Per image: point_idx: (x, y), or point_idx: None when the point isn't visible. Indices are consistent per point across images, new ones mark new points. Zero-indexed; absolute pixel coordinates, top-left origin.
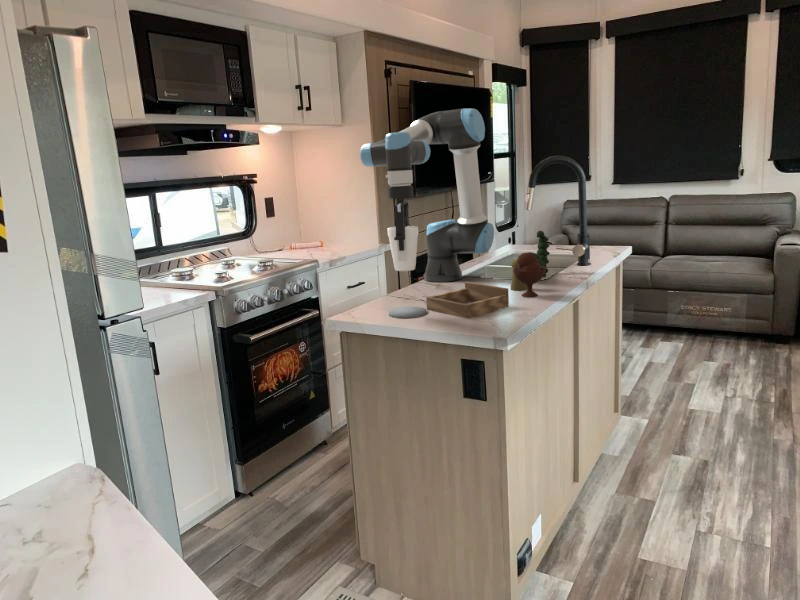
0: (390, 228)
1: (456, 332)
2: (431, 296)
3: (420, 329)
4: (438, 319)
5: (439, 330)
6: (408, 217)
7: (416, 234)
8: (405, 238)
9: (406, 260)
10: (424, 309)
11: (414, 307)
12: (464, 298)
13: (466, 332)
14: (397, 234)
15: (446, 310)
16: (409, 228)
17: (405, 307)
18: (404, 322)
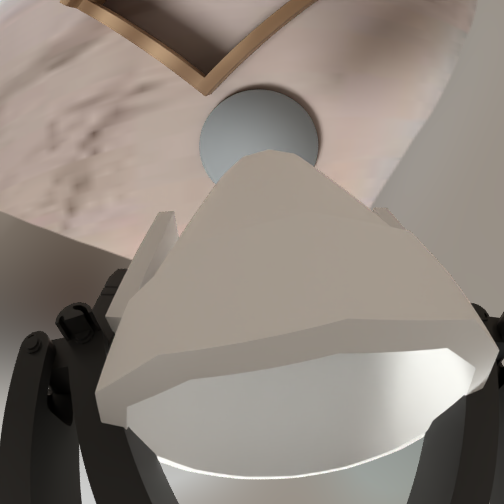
0: (267, 471)
1: (454, 40)
2: (192, 80)
3: (426, 110)
4: (342, 55)
5: (439, 70)
6: (4, 473)
7: (416, 239)
8: (475, 307)
9: (388, 212)
10: (244, 97)
11: (213, 133)
12: (107, 8)
13: (454, 22)
14: (500, 366)
15: (278, 29)
16: (491, 366)
17: (210, 161)
18: (359, 147)
